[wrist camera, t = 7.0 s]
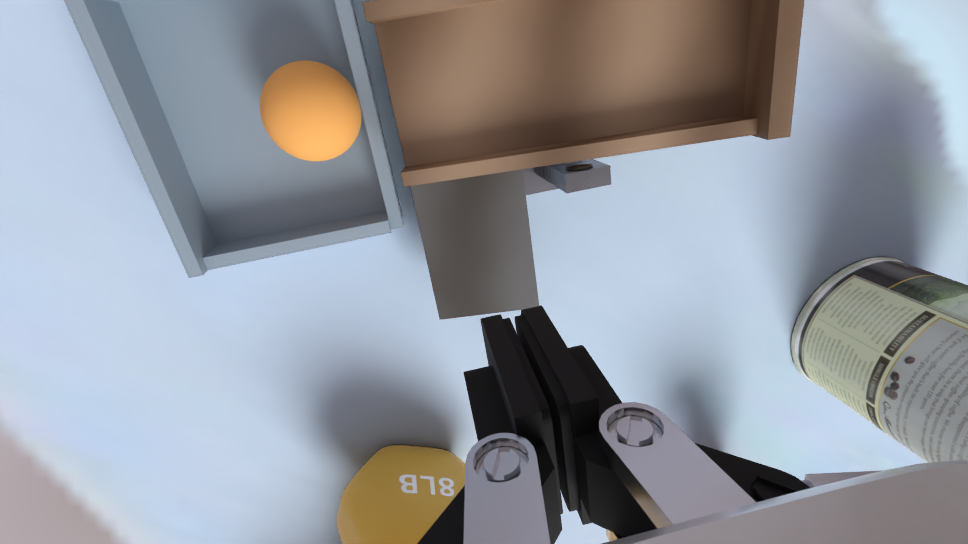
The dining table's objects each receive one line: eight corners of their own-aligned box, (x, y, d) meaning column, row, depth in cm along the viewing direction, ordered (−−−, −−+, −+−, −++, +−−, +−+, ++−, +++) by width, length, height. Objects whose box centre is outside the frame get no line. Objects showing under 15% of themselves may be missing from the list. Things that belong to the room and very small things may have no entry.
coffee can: (908, 226, 31) (1274, 327, 18) (925, 336, 35) (1233, 481, 22) (772, 307, 31) (1036, 462, 19) (805, 406, 36) (1039, 588, 23)
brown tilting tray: (745, -57, 19) (813, -91, 15) (726, 261, 24) (773, 301, 20) (384, 10, 20) (355, -4, 16) (445, 297, 26) (434, 341, 22)
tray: (341, -43, 20) (333, -64, 17) (402, 215, 25) (403, 233, 22) (104, -10, 19) (52, -27, 16) (214, 253, 24) (188, 277, 21)
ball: (366, 49, 19) (318, 62, 21) (269, 59, 16) (229, 73, 19) (389, 149, 20) (342, 150, 23) (304, 173, 18) (263, 170, 20)
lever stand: (568, -74, 21) (623, -124, 16) (585, 179, 26) (633, 202, 21) (482, -62, 21) (511, -109, 16) (515, 193, 25) (547, 220, 20)
